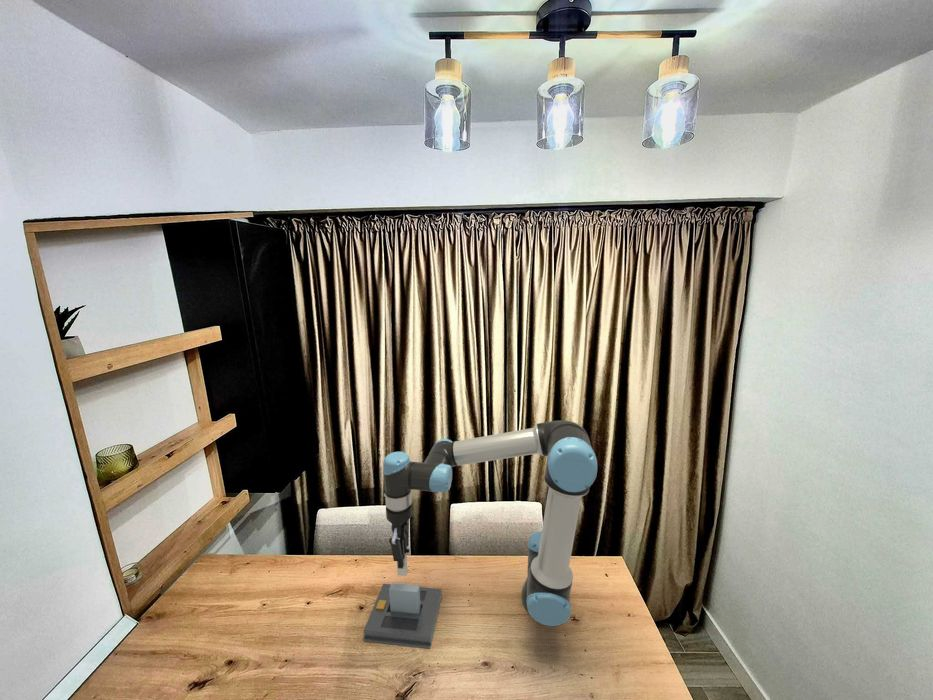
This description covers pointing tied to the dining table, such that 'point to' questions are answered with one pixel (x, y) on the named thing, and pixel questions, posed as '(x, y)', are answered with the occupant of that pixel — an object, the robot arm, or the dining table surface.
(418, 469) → the robot arm
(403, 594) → the panel
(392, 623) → the panel
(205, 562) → the dining table surface
